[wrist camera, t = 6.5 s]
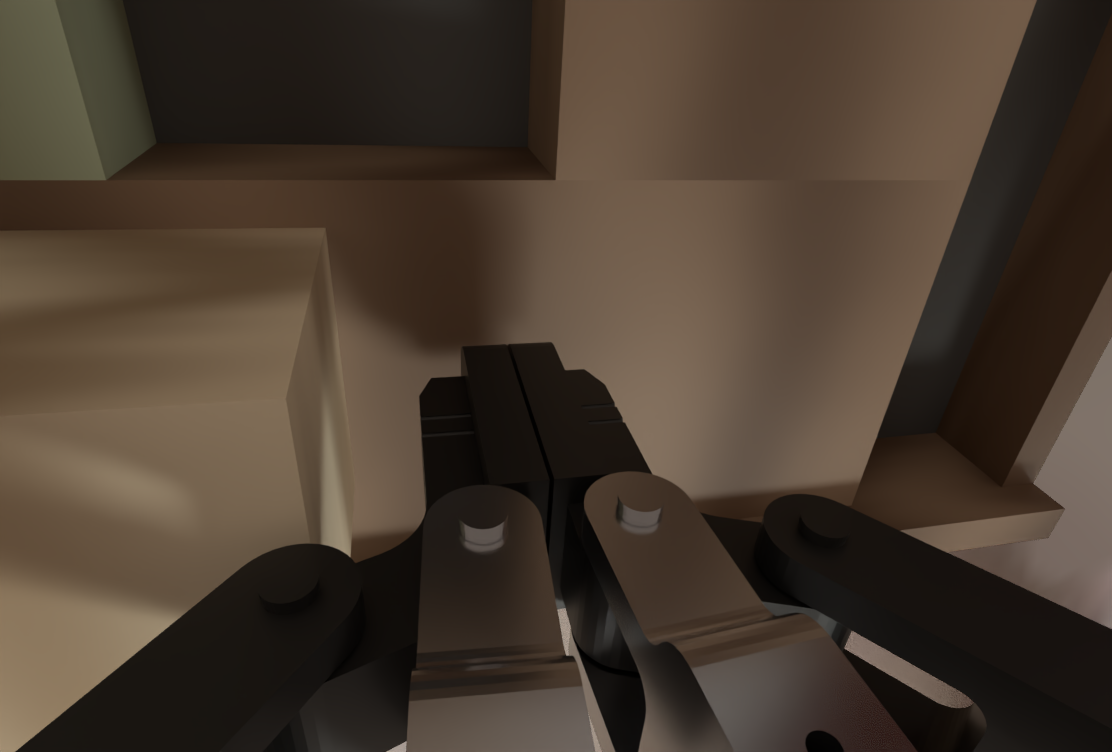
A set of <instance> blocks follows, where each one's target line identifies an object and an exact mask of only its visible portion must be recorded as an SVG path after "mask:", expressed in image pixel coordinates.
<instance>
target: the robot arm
mask: <svg viewBox="0 0 1112 752" xmlns="http://www.w3.org/2000/svg"><path fill="white" fill-rule="evenodd" d="M419 405H420V424H421V443H422V462H423V479H424V494H425V508H426V512H425V516H424V518H423V520H422V522H421V524H420V525H419V527H418V528H417V529H416V531H415V532H414V533H413V534H412V535H411V536H410V537H409V538H407V539H406V540H405V541H403V542H402V543H401V544H399V545H397V546H396V547H394V548H392V549H390V550H388V551H386V552H384V553H381V554H379V555H376V556H373V557H371V558H368V559H365V560H363V561H360V562H357V563H355V562H354V561H353V559H352V558H350V557H349V556H348V555H347V554H346V553H344V552H342V551H341V550H339V549H336V548H333V547H331V546H327V545H322V544H310V543H306V544H295V545H289V546H284V547H281V548H277V549H274V550H271V551H269V552H267V553H264V554H262V555H260V556H258V557H256V558H255V559H253V560H251V561H250V562H248V563H247V564H245V565H244V566H243V567H241V568H240V569H239V570H238V571H236V572H235V573H234V574H233V575H231V576H230V577H229V578H228V579H227V580H225V581H224V582H223V583H222V584H220V585H219V586H218V587H217V588H215V589H214V590H213V591H212V592H211V593H209V594H208V595H207V596H206V597H204V598H203V599H202V600H201V601H200V602H198V603H197V604H196V605H195V606H193V607H192V608H191V609H190V610H188V611H187V612H186V613H185V614H184V615H182V616H181V617H180V618H179V619H177V620H176V621H175V622H174V623H172V624H171V625H170V626H169V627H168V628H166V629H165V630H164V631H163V632H161V633H160V634H159V635H158V636H157V637H155V638H154V639H153V640H152V641H150V642H149V643H148V644H147V645H145V646H144V647H143V648H142V649H141V650H139V651H138V652H137V653H136V654H134V655H133V656H132V657H131V658H130V659H128V660H127V661H126V662H125V663H123V664H122V665H121V666H120V667H118V668H117V669H116V670H115V671H114V672H112V673H111V674H110V675H109V676H107V677H106V678H105V679H104V680H102V681H101V682H100V683H99V684H98V685H96V686H95V687H94V688H93V689H91V690H90V691H89V692H88V693H87V694H85V695H84V696H83V697H82V698H80V699H79V700H78V701H77V702H75V703H74V704H73V705H72V706H71V707H69V708H68V709H67V710H66V711H64V712H63V713H62V714H61V715H60V716H58V717H57V718H56V719H55V720H53V721H52V722H51V723H50V724H48V725H47V726H46V727H45V728H44V729H42V730H41V731H40V732H39V733H37V734H36V735H35V736H34V737H32V738H31V739H30V740H29V741H28V742H26V743H25V744H24V745H23V746H21V747H20V748H19V749H18V750H17V751H15V752H386V751H388V750H390V749H392V748H394V747H396V746H398V745H400V744H402V743H404V742H405V741H407V745H406V752H595V748H594V742H593V737H592V732H591V726H590V721H589V716H590V719H591V722H592V725H593V728H594V731H595V733H596V736H597V739H598V742H599V745H600V747H601V750H602V752H1112V629H1110V628H1108V627H1105V626H1103V625H1101V624H1099V623H1097V622H1095V621H1093V620H1090V619H1088V618H1086V617H1084V616H1082V615H1080V614H1078V613H1075V612H1073V611H1071V610H1069V609H1067V608H1065V607H1063V606H1060V605H1058V604H1056V603H1054V602H1052V601H1050V600H1047V599H1045V598H1043V597H1041V596H1039V595H1037V594H1035V593H1032V592H1030V591H1028V590H1026V589H1024V588H1022V587H1020V586H1017V585H1015V584H1013V583H1011V582H1009V581H1007V580H1005V579H1002V578H1000V577H998V576H996V575H994V574H992V573H990V572H987V571H985V570H983V569H981V568H979V567H977V566H975V565H972V564H970V563H968V562H966V561H964V560H962V559H960V558H957V557H955V556H953V555H951V554H949V553H947V552H945V551H942V550H940V549H938V548H936V547H934V546H932V545H929V544H927V543H925V542H923V541H921V540H919V539H917V538H914V537H912V536H910V535H908V534H906V533H904V532H902V531H899V530H897V529H895V528H893V527H891V526H889V525H887V524H884V523H882V522H880V521H878V520H876V519H874V518H872V517H869V516H867V515H865V514H863V513H861V512H859V511H857V510H854V509H852V508H850V507H848V506H846V505H844V504H841V503H839V502H837V501H834V500H832V499H828V498H825V497H821V496H816V495H810V494H791V495H785V496H782V497H779V498H777V499H775V500H774V501H772V502H771V503H770V504H769V505H768V506H767V508H766V509H765V512H764V516H763V519H762V522H754V521H747V520H740V519H732V518H725V517H718V516H713V515H708V514H704V513H701V512H699V510H698V509H697V507H696V506H695V505H694V503H693V502H692V500H691V499H690V498H689V496H688V495H687V494H686V493H685V492H684V491H683V490H682V489H681V488H680V487H678V486H677V485H675V484H674V483H672V482H670V481H668V480H666V479H664V478H662V477H659V476H656V475H653V474H652V472H651V470H650V469H649V467H648V465H647V463H646V461H645V459H644V457H643V455H642V453H641V452H640V450H639V448H638V446H637V444H636V442H635V440H634V438H633V436H632V435H631V433H630V431H629V429H628V427H627V425H626V423H625V422H623V418H622V416H621V414H620V412H619V410H618V408H617V407H615V402H614V401H613V399H612V397H611V395H610V393H609V391H608V389H607V387H606V385H605V384H604V383H602V382H601V381H600V380H598V379H597V378H596V377H594V376H593V375H592V374H590V373H589V372H588V371H586V370H585V369H578V370H565V369H564V367H563V364H562V362H561V360H560V358H559V355H558V353H557V351H556V349H555V346H554V344H553V343H552V342H539V343H518V344H508V345H506V344H500V345H478V346H462V347H461V376H456V377H438V378H431V379H430V380H429V382H428V383H427V385H426V386H425V388H424V389H423V391H422V392H421V394H420V395H419ZM562 608H566V611H567V615H568V618H569V622H570V625H571V629H570V638H569V648H568V650H569V656H566V654H565V650H564V646H563V641H562V635H561V629H560V623H559V617H558V611H557V609H562ZM851 631H854V632H856V633H858V634H859V635H861V636H863V637H865V638H866V639H868V640H870V641H872V642H874V643H875V644H877V645H879V646H881V647H882V648H884V649H886V650H888V651H890V652H891V653H893V654H895V655H897V656H898V657H900V658H902V659H904V660H906V661H907V662H909V663H911V664H913V665H914V666H916V667H918V668H920V669H921V670H923V671H925V672H927V673H929V674H930V675H932V676H934V677H936V678H937V679H939V680H941V681H943V682H945V683H946V684H948V685H950V686H952V687H953V688H955V689H957V690H959V691H960V692H962V693H964V694H965V695H966V696H968V697H969V698H970V699H971V700H972V701H973V702H974V703H973V704H972V705H971V706H969V707H966V708H951V707H947V706H944V705H941V704H939V703H937V702H935V701H933V700H931V699H930V698H928V697H926V696H924V695H923V694H921V693H919V692H918V691H916V690H914V689H912V688H911V687H909V686H907V685H906V684H904V683H902V682H900V681H899V680H897V679H895V678H893V677H892V676H890V675H888V674H887V673H885V672H883V671H881V670H880V669H878V668H876V667H875V666H873V665H871V664H869V663H868V662H866V661H864V660H862V659H861V658H859V657H857V656H856V655H854V654H852V653H850V652H849V651H847V650H845V649H844V647H845V645H846V643H847V640H848V638H849V636H850V633H851ZM588 714H589V716H588Z"/></svg>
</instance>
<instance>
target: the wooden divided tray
mask: <svg viewBox="0 0 1112 752" xmlns="http://www.w3.org/2000/svg"><path fill="white" fill-rule="evenodd" d="M241 228H326V236H327V245H328V253H329V262H330V270H331V279H332V287H333V296H334V304H335V313H336V322H337V330H338V339H339V347H340V356H341V364H342V373H343V381H344V390H345V398H346V407H347V416H348V424H349V433H350V441H351V450H352V458H353V467H354V475H355V487H354V505H353V522H352V540H351V557H350V558H352V559H353V561H354V562H355V563H357V562H360V561H363V560H365V559H368V558H371V557H373V556H376V555H379V554H381V553H384V552H386V551H388V550H390V549H392V548H394V547H396V546H397V545H399V544H401V543H402V542H403V541H405V540H406V539H407V538H409V537H410V536H411V535H412V534H413V533H414V532H415V531H416V529H417V528H418V527H419V525H420V524H421V522H422V520H423V518H424V516H425V512H426V508H425V494H424V479H423V462H422V443H421V424H420V405H419V395H420V394H421V392H422V391H423V389H424V388H425V386H426V385H427V383H428V382H429V380H430V379H431V378H438V377H456V376H461V347H462V346H478V345H500V344H506V345H508V344H518V343H539V342H552V343H553V344H554V346H555V349H556V351H557V353H558V355H559V358H560V360H561V362H562V364H563V367H564V369H565V370H578V369H585V370H586V371H588V372H589V373H590V374H592V375H593V376H594V377H596V378H597V379H598V380H600V381H601V382H602V383H604V384H605V385H606V387H607V389H608V391H609V393H610V395H611V397H612V399H613V401H614V402H615V407H617V408H618V410H619V412H620V414H621V416H622V418H623V422H625V423H626V425H627V427H628V429H629V431H630V433H631V435H632V436H633V438H634V440H635V442H636V444H637V446H638V448H639V450H640V452H641V453H642V455H643V457H644V459H645V461H646V463H647V465H648V467H649V469H650V470H651V472H652V474H653V475H656V476H659V477H662V478H664V479H666V480H668V481H670V482H672V483H674V484H675V485H677V486H678V487H680V488H681V489H682V490H683V491H684V492H685V493H686V494H687V495H688V496H689V498H690V499H691V500H692V502H693V503H694V505H695V506H696V507H697V509H698V510H699V512H701V513H704V514H708V515H713V516H718V517H725V518H732V519H740V520H747V521H754V522H762V519H763V516H764V512H765V509H766V508H767V506H768V505H769V504H770V503H771V502H772V501H774V500H775V499H777V498H779V497H782V496H785V495H791V494H810V495H816V496H821V497H825V498H828V499H832V500H834V501H837V502H839V503H841V504H844V505H846V506H848V507H850V508H852V509H854V510H857V511H859V512H861V513H863V514H865V515H867V516H869V517H872V518H874V519H876V520H878V521H880V522H882V523H884V524H887V525H889V526H891V527H893V528H895V529H897V530H899V531H902V532H904V533H906V534H908V535H910V536H912V537H914V538H917V539H919V540H921V541H923V542H925V543H927V544H929V545H932V546H934V547H936V548H938V549H940V550H942V551H945V552H953V551H960V550H967V549H974V548H981V547H988V546H995V545H1002V544H1009V543H1016V542H1023V541H1030V540H1037V539H1044V538H1048V537H1049V536H1050V534H1051V532H1052V531H1053V529H1054V527H1055V525H1056V524H1057V522H1058V520H1059V519H1060V517H1061V515H1062V513H1063V512H1064V510H1065V508H1063V507H1062V506H1061V505H1060V504H1058V503H1057V502H1056V501H1054V500H1053V499H1052V498H1051V497H1049V496H1048V495H1047V494H1046V493H1044V492H1043V491H1042V490H1040V489H1039V488H1038V487H1037V486H1035V485H1034V484H1033V483H1034V481H1035V479H1036V477H1037V475H1038V473H1039V471H1040V469H1041V468H1042V466H1043V464H1044V462H1045V460H1046V458H1047V456H1048V455H1049V453H1050V451H1051V449H1052V447H1053V445H1054V443H1055V441H1056V440H1057V438H1058V436H1059V434H1060V432H1061V430H1062V428H1063V427H1064V425H1065V423H1066V421H1067V419H1068V417H1069V415H1070V413H1071V411H1072V410H1073V408H1074V406H1075V404H1076V402H1077V400H1078V398H1079V397H1080V395H1081V393H1082V391H1083V389H1084V387H1085V385H1086V384H1087V382H1088V380H1089V378H1090V376H1091V374H1092V372H1093V370H1094V369H1095V367H1096V365H1097V363H1098V361H1099V359H1100V357H1101V356H1102V354H1103V352H1104V350H1105V348H1106V346H1107V344H1108V343H1109V341H1110V339H1111V337H1112V0H0V231H27V230H134V229H241Z"/></svg>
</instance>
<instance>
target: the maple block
mask: <svg viewBox="0 0 1112 752" xmlns="http://www.w3.org/2000/svg"><path fill="white" fill-rule="evenodd" d="M354 487H355V475H354V467H353V458H352V450H351V441H350V433H349V424H348V416H347V407H346V398H345V390H344V381H343V373H342V364H341V356H340V347H339V339H338V330H337V322H336V313H335V304H334V296H333V287H332V279H331V270H330V262H329V253H328V245H327V236H326V228H241V229H134V230H27V231H0V752H15V751H17V750H18V749H19V748H20V747H21V746H23V745H24V744H25V743H26V742H28V741H29V740H30V739H31V738H32V737H34V736H35V735H36V734H37V733H39V732H40V731H41V730H42V729H44V728H45V727H46V726H47V725H48V724H50V723H51V722H52V721H53V720H55V719H56V718H57V717H58V716H60V715H61V714H62V713H63V712H64V711H66V710H67V709H68V708H69V707H71V706H72V705H73V704H74V703H75V702H77V701H78V700H79V699H80V698H82V697H83V696H84V695H85V694H87V693H88V692H89V691H90V690H91V689H93V688H94V687H95V686H96V685H98V684H99V683H100V682H101V681H102V680H104V679H105V678H106V677H107V676H109V675H110V674H111V673H112V672H114V671H115V670H116V669H117V668H118V667H120V666H121V665H122V664H123V663H125V662H126V661H127V660H128V659H130V658H131V657H132V656H133V655H134V654H136V653H137V652H138V651H139V650H141V649H142V648H143V647H144V646H145V645H147V644H148V643H149V642H150V641H152V640H153V639H154V638H155V637H157V636H158V635H159V634H160V633H161V632H163V631H164V630H165V629H166V628H168V627H169V626H170V625H171V624H172V623H174V622H175V621H176V620H177V619H179V618H180V617H181V616H182V615H184V614H185V613H186V612H187V611H188V610H190V609H191V608H192V607H193V606H195V605H196V604H197V603H198V602H200V601H201V600H202V599H203V598H204V597H206V596H207V595H208V594H209V593H211V592H212V591H213V590H214V589H215V588H217V587H218V586H219V585H220V584H222V583H223V582H224V581H225V580H227V579H228V578H229V577H230V576H231V575H233V574H234V573H235V572H236V571H238V570H239V569H240V568H241V567H243V566H244V565H245V564H247V563H248V562H250V561H251V560H253V559H255V558H256V557H258V556H260V555H262V554H264V553H267V552H269V551H271V550H274V549H277V548H281V547H284V546H289V545H295V544H306V543H310V544H322V545H327V546H331V547H333V548H336V549H339V550H341V551H342V552H344V553H346V554H347V555H348V556H349V557H351V540H352V522H353V505H354Z"/></svg>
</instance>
